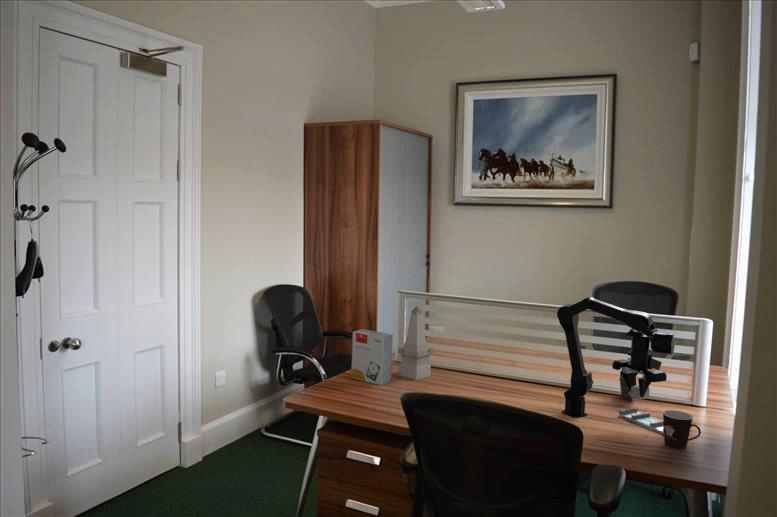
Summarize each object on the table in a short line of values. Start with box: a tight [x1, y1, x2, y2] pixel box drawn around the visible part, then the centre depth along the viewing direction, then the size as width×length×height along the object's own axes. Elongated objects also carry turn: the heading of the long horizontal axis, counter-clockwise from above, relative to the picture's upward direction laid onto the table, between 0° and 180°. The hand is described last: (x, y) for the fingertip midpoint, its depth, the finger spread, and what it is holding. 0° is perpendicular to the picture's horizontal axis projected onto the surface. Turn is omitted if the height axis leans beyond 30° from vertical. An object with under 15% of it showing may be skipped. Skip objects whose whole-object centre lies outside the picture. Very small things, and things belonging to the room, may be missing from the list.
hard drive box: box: [350, 328, 394, 386], centre depth 265 cm, size 16×8×20 cm, turn 58°
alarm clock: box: [619, 357, 637, 403], centre depth 250 cm, size 11×5×16 cm, turn 168°
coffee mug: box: [662, 409, 702, 450], centre depth 203 cm, size 12×9×10 cm
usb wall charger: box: [628, 384, 651, 401], centre depth 219 cm, size 4×7×4 cm, turn 121°
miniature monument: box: [397, 306, 434, 381], centre depth 273 cm, size 10×10×30 cm
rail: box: [618, 407, 664, 436], centre depth 223 cm, size 8×20×2 cm, turn 27°
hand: (637, 395), depth 219 cm, fingers closed on usb wall charger, 4 cm apart
